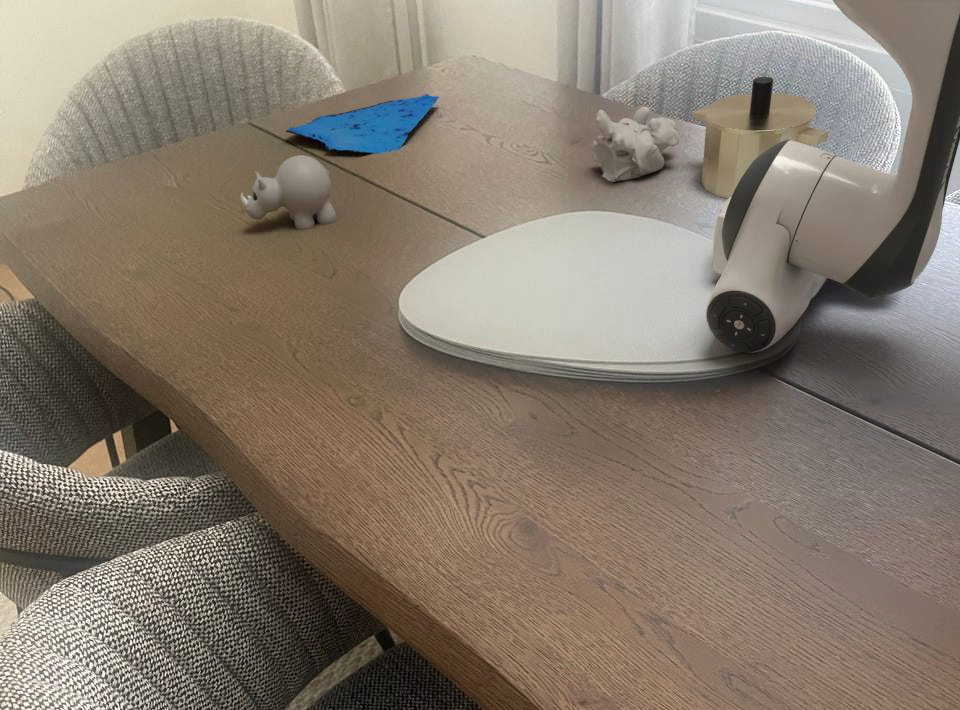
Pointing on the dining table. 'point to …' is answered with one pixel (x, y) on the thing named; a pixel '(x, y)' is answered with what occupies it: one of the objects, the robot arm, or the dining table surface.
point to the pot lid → (760, 111)
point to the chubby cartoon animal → (294, 193)
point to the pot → (741, 153)
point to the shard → (369, 126)
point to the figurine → (632, 144)
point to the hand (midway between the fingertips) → (831, 203)
